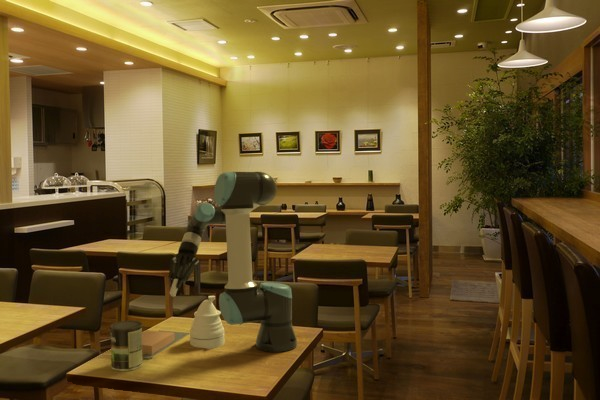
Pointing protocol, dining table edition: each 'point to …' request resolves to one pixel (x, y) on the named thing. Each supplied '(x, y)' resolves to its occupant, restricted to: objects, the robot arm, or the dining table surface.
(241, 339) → the dining table surface
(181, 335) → the mat
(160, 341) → the tile
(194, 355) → the dining table surface
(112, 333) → the coffee can
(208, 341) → the honey pot
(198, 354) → the dining table surface
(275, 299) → the robot arm
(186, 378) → the dining table surface
